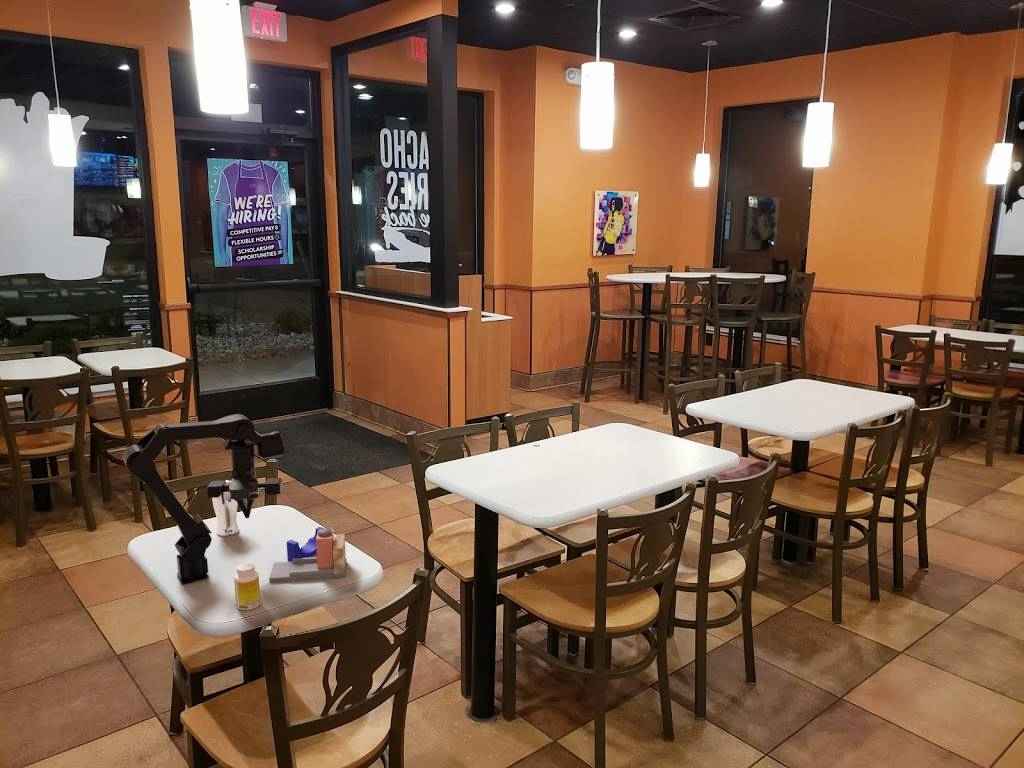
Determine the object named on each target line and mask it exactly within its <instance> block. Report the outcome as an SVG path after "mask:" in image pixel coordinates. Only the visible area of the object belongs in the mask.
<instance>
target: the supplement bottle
mask: <svg viewBox="0 0 1024 768" xmlns="http://www.w3.org/2000/svg"><path fill="white" fill-rule="evenodd" d="M233 578H234V579H233V581H234V593H235V603H236V604H235V605H236V608H237V609H238V610H241V611H251V610H255V609H256V608H258V607H259V606H260V604H261V592H260V591H261V590H260V578H259V572H258V571H256V569H255V565H254V564H253V563H250V562H246V563H241V564H240V565H237V567H236V574H234V577H233Z"/></svg>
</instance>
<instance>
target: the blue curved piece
mask: <svg viewBox="0 0 1024 768" xmlns="http://www.w3.org/2000/svg"><path fill="white" fill-rule="evenodd" d="M320 529H324V527H321V526H318V527H316V528H315V533H314V536H312V537H310V538H308V540H307V542H306V543H305V544H304V545H303V546H301V547H300V543H299V542H298V541H296V540H293V539H290V540H287V541H286V553H287V556H286V558H287V562H291V561H293V559H294V558H310V557H313V556H314V557H315V555H316V556H317V549H316V537H317V532H318V530H320Z"/></svg>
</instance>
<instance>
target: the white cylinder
mask: <svg viewBox="0 0 1024 768" xmlns="http://www.w3.org/2000/svg"><path fill="white" fill-rule="evenodd" d="M225 482H226V485H228V484H230V482H231V480H225ZM211 500H212V505H213V506H212V507H213V510H214V513H215V515H216V521H217V528H216V534H217V535H218V536H219V535H220V536H219V537H230V536H229V535H231V536H234V535H236V534H238V533H239V527H238V521H237V516H238V514H237V513H238V506H239V504H238V503H237V502H236V501H235V500H234V499H230V492H222V494H221V495H220V496H219V497H217V498H211ZM237 532H238V533H237ZM235 533H236V534H235ZM233 534H234V535H233Z"/></svg>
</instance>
